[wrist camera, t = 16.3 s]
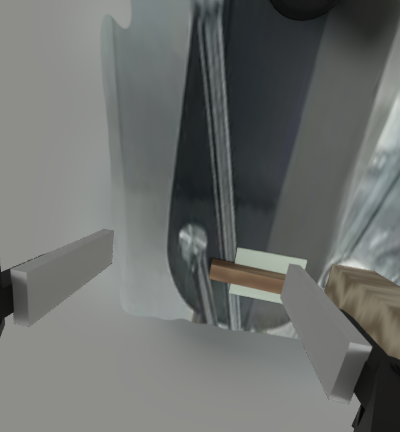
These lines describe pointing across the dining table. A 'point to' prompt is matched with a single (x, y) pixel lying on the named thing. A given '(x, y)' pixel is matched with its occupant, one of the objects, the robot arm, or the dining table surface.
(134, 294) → the dining table surface
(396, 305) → the wooden block tower
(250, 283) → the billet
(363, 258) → the dining table surface
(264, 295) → the mat
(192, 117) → the dining table surface
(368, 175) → the dining table surface
